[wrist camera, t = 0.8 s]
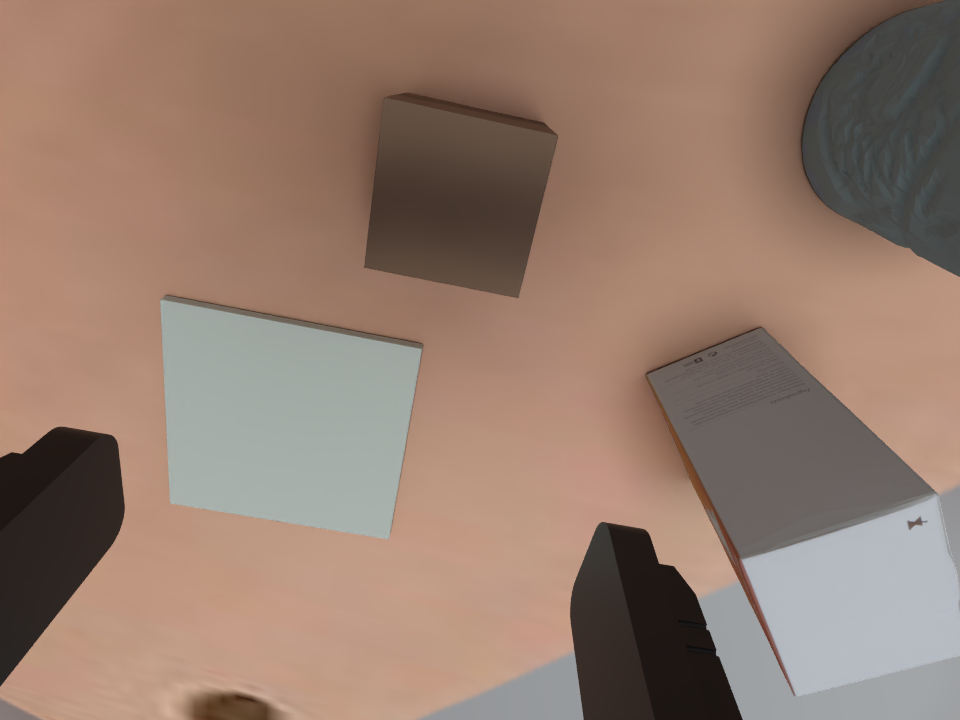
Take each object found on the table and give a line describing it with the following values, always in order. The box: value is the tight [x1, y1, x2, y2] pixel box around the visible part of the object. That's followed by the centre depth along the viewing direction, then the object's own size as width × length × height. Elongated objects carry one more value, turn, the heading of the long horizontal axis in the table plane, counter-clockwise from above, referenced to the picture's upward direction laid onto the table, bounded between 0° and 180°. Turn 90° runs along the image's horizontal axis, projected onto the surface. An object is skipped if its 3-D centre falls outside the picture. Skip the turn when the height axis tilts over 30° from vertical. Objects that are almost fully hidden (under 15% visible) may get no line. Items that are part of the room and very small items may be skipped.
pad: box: [160, 295, 423, 539], centre depth 32 cm, size 13×13×1 cm
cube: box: [364, 93, 558, 298], centre depth 23 cm, size 6×6×6 cm
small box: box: [646, 328, 960, 697], centre depth 25 cm, size 8×6×13 cm
